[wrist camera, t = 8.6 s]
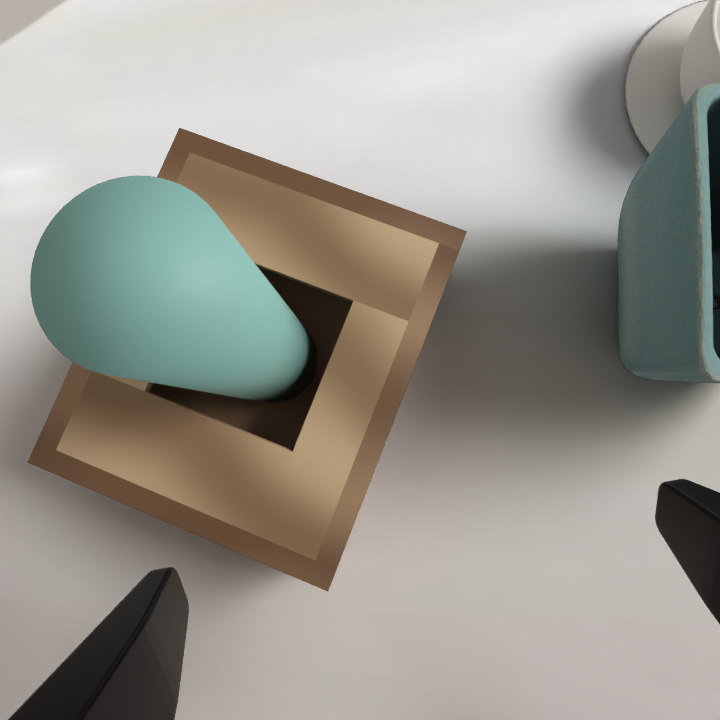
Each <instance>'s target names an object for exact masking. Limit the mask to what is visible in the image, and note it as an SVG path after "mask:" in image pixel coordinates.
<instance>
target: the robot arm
mask: <svg viewBox="0 0 720 720" xmlns="http://www.w3.org/2000/svg"><path fill="white" fill-rule="evenodd" d="M655 520H656V525H657V527H658V530H659V531H660V533H661V535H662V536H663V538H664V540H665V541H666V543H667V544H668V546H669V548H670V549H671V551H672V552H673V554H674V555H675V557H676V559H677V560H678V562H679V563H680V565H681V567H682V568H683V570H684V571H685V573H686V575H687V576H688V578H689V579H690V581H691V583H692V584H693V586H694V587H695V589H696V591H697V592H698V594H699V595H700V597H701V598H702V600H703V601H704V603H705V604H706V606H707V607H708V609H709V610H710V611H711V613H712V614H713V616H714V617H715V618H716V620H717V621H718V622H719V624H720V493H719V492H717V491H714V490H711V489H709V488H706V487H704V486H701V485H699V484H696V483H694V482H691V481H689V480H685V479H678V480H673V481H667V482H663V483H662V484H661V485H660V486H659V490H658V498H657V506H656V514H655ZM188 614H189V605H188V600H187V597H186V594H185V591H184V589H183V586H182V583H181V580H180V578H179V575H178V573H177V571H176V570H175V569H174V568H172V567H169V568H163V569H157V570H153V571H151V572H149V573H148V574H147V575H146V576H145V577H144V578H143V579H142V580H141V581H140V582H139V583H138V584H137V585H136V586H135V587H134V588H133V589H132V591H131V592H130V593H129V594H128V595H127V596H126V597H125V598H124V599H123V600H122V601H121V602H120V603H119V604H118V605H117V606H116V607H115V608H114V609H113V610H112V611H111V613H110V614H109V615H108V616H107V617H106V618H105V619H104V620H103V621H102V622H101V623H100V624H99V625H98V626H97V627H96V628H95V629H94V630H93V631H92V632H91V633H90V634H89V636H88V637H87V638H86V639H85V640H84V641H83V642H82V643H81V644H80V645H79V646H78V647H77V648H76V649H75V650H74V651H73V652H72V653H71V654H70V655H69V656H68V658H67V659H66V660H65V661H64V662H63V663H62V664H61V665H60V666H59V667H58V668H57V669H56V670H55V671H54V672H53V673H52V674H51V675H50V676H49V677H48V678H47V679H46V681H45V682H44V683H43V684H42V685H41V686H40V687H39V688H38V689H37V690H36V691H35V692H34V693H33V694H32V695H31V696H30V697H29V698H28V699H27V700H26V701H25V703H24V704H23V705H22V706H21V707H20V708H19V709H18V710H17V711H16V712H15V713H14V714H13V715H12V716H11V717H10V718H9V719H8V720H174V718H175V713H176V708H177V703H178V696H179V689H180V681H181V672H182V664H183V656H184V648H185V639H186V631H187V623H188Z"/></svg>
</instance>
